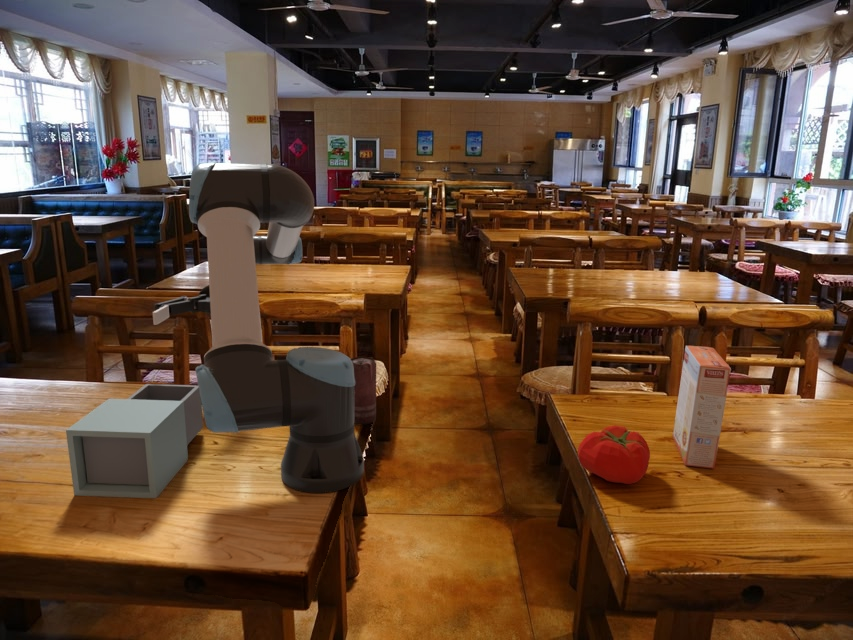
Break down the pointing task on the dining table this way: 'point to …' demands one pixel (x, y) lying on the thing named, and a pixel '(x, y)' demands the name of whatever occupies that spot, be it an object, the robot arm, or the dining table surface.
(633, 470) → the tomato
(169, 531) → the dining table surface
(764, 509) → the dining table surface
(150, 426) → the sleeve
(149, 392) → the tray
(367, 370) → the can
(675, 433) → the cracker box
